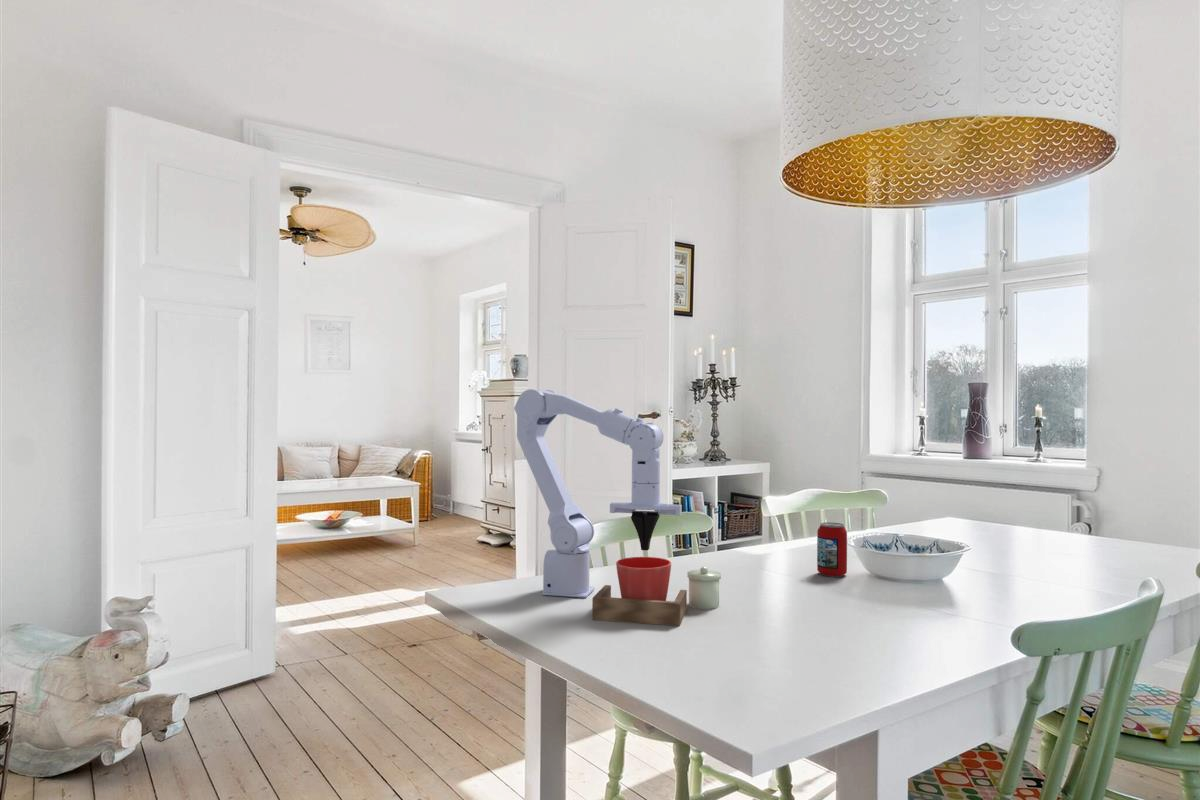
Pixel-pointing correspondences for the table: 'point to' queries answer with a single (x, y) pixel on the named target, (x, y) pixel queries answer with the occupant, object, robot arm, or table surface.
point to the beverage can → (832, 549)
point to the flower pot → (644, 578)
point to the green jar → (704, 588)
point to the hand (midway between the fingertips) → (645, 549)
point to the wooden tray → (638, 609)
